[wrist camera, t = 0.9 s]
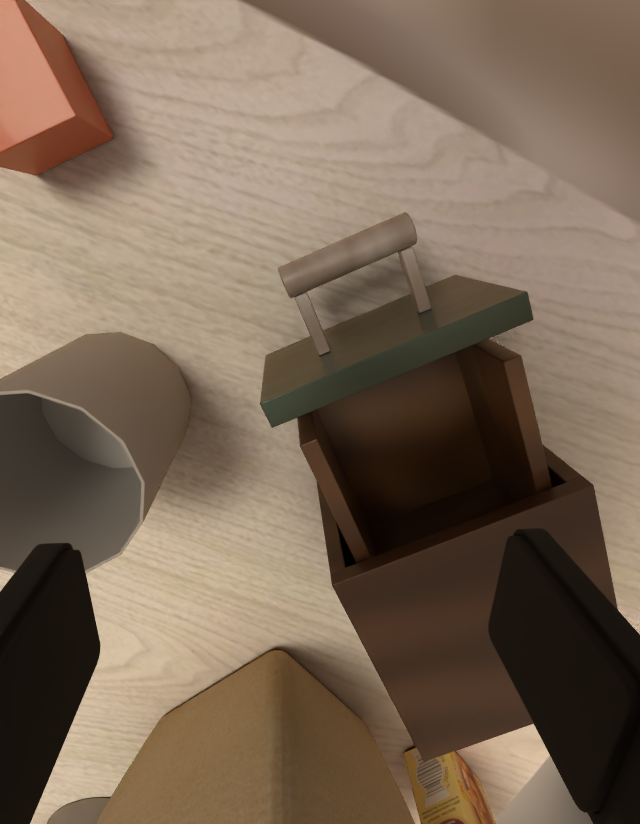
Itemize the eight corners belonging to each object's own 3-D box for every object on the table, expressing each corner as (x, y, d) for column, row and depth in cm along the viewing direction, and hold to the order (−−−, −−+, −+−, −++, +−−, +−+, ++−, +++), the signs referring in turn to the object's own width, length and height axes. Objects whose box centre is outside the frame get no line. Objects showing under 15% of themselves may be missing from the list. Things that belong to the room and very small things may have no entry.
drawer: (230, 282, 24) (210, 304, 17) (433, 193, 23) (502, 176, 16) (349, 534, 30) (371, 627, 23) (509, 471, 30) (583, 547, 22)
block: (-24, 75, 21) (-99, 36, 16) (61, 32, 20) (6, -18, 16) (35, 175, 22) (-20, 163, 18) (114, 138, 22) (77, 116, 18)
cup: (185, 472, 29) (140, 585, 20) (47, 457, 28) (-70, 570, 18) (194, 343, 26) (147, 404, 17) (41, 320, 25) (-102, 373, 15)
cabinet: (316, 480, 30) (331, 585, 21) (497, 407, 29) (593, 484, 20) (387, 628, 35) (424, 762, 26) (541, 570, 34) (633, 688, 25)
